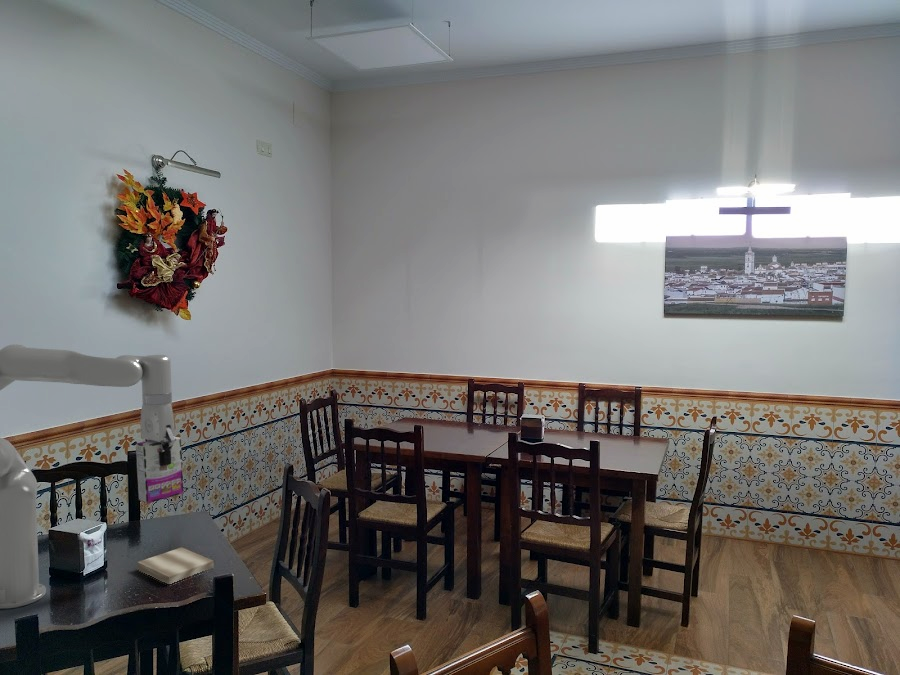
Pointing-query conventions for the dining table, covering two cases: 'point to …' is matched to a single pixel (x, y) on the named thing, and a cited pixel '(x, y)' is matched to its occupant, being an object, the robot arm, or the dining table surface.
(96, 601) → the dining table surface
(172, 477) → the candy bar box
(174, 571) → the pale wooden block
